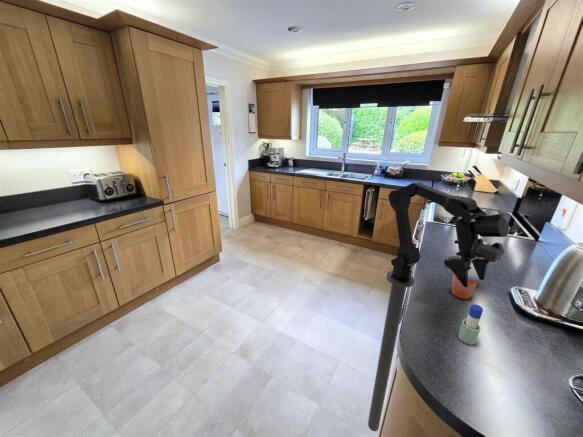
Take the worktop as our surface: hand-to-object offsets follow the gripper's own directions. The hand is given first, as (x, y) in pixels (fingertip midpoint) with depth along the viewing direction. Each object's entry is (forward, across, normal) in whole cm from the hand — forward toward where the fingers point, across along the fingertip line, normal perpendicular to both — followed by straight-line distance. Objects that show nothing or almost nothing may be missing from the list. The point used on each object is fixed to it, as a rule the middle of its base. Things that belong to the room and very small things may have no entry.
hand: (474, 283), depth 80 cm
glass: (+15, -9, -1) cm, 18 cm away
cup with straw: (+10, +13, +13) cm, 21 cm away
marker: (+15, -9, -1) cm, 17 cm away
